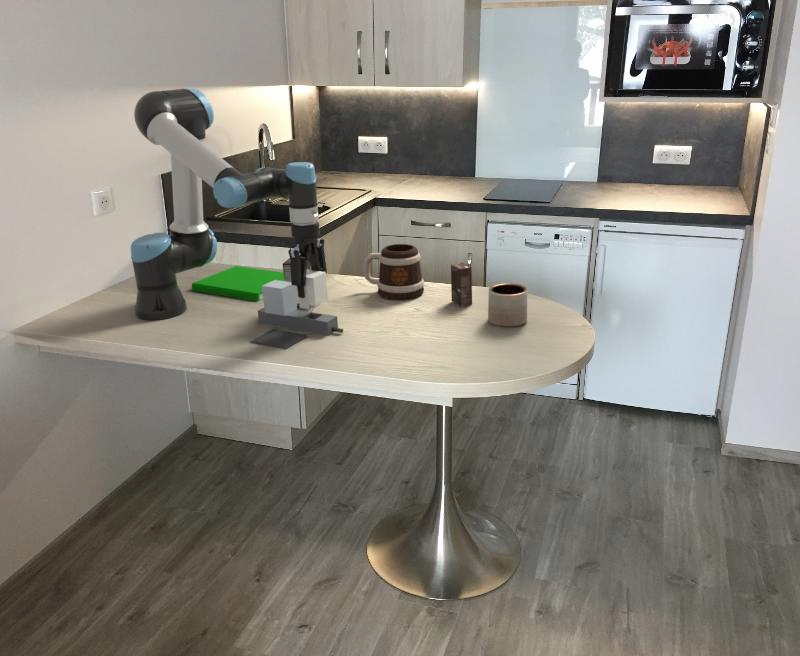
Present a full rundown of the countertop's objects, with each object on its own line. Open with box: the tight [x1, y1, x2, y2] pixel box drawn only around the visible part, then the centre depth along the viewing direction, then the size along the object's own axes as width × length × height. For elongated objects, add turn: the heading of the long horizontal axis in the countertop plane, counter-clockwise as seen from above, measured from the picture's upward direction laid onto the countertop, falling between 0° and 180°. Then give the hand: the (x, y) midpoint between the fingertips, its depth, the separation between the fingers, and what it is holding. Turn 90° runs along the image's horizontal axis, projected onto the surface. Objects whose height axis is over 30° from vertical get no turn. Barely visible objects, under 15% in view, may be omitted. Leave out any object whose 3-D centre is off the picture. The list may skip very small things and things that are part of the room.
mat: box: [249, 328, 309, 350], centre depth 196 cm, size 12×10×1 cm
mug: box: [362, 243, 425, 301], centre depth 228 cm, size 20×15×15 cm
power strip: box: [257, 307, 344, 336], centre depth 204 cm, size 27×5×4 cm, turn 62°
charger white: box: [293, 270, 329, 309], centre depth 198 cm, size 7×6×9 cm
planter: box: [487, 282, 528, 328], centre depth 202 cm, size 11×11×10 cm
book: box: [191, 265, 284, 302], centre depth 243 cm, size 22×28×3 cm
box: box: [450, 261, 473, 308], centre depth 216 cm, size 6×4×12 cm
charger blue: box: [262, 280, 297, 316], centre depth 205 cm, size 7×6×9 cm
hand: (311, 303), depth 200 cm, fingers closed on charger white, 6 cm apart
